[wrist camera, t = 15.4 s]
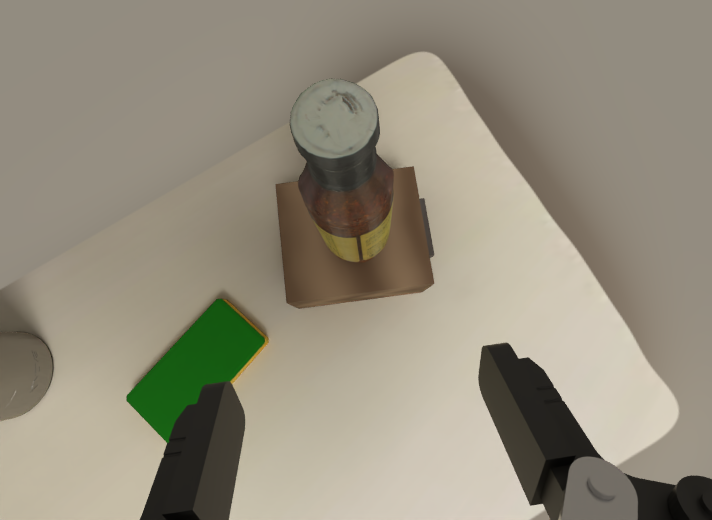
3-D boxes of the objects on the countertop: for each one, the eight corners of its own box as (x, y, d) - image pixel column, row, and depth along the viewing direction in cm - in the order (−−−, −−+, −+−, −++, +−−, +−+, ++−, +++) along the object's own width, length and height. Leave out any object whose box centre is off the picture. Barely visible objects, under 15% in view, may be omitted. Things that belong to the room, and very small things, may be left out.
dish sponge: (137, 394, 40) (123, 398, 38) (226, 298, 42) (218, 296, 40) (182, 440, 39) (170, 447, 37) (271, 340, 41) (266, 340, 39)
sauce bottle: (383, 199, 36) (406, 42, 17) (393, 261, 35) (430, 167, 16) (317, 208, 36) (265, 61, 17) (325, 270, 35) (277, 188, 16)
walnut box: (299, 308, 41) (286, 303, 34) (289, 208, 44) (275, 184, 37) (429, 291, 41) (442, 282, 35) (412, 192, 44) (421, 165, 37)
